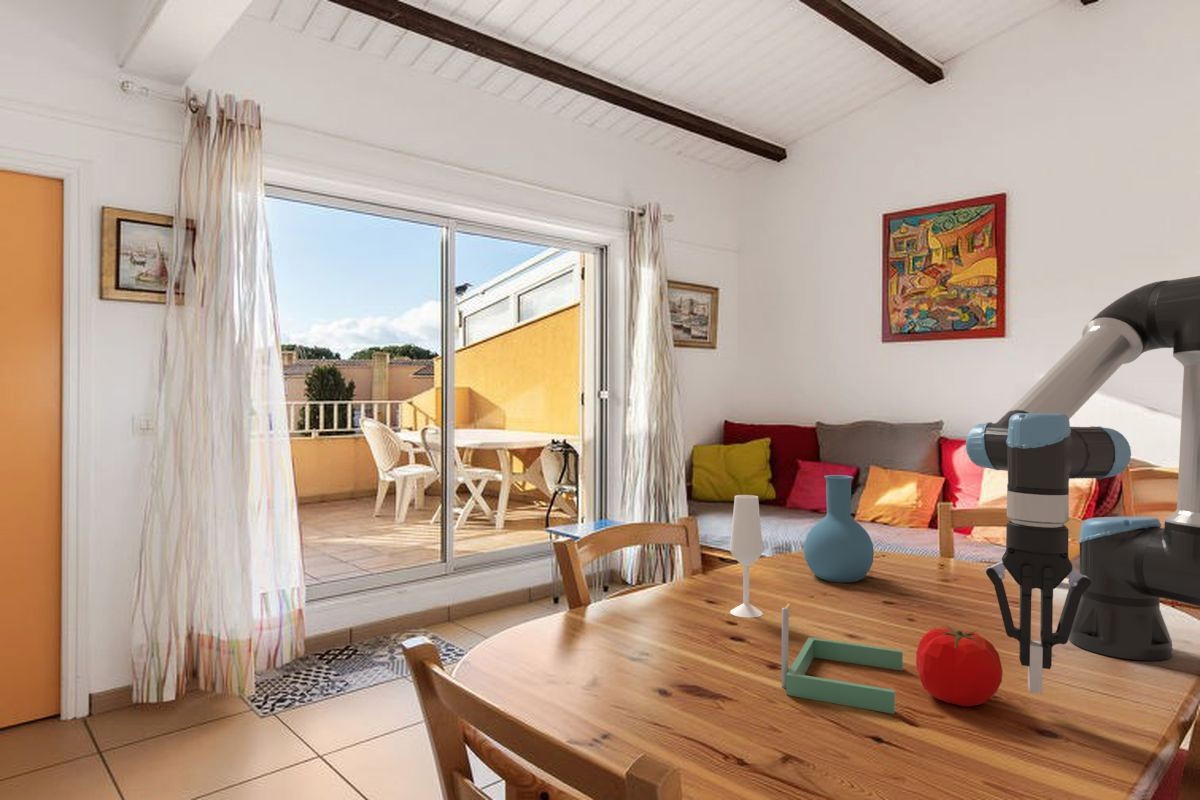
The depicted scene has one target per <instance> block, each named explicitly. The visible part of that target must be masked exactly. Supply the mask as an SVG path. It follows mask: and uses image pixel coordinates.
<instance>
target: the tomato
mask: <svg viewBox="0 0 1200 800" xmlns="http://www.w3.org/2000/svg"><path fill="white" fill-rule="evenodd" d="M946 627H947V628H946ZM946 627H944V628H942V627H941V628H940V627H939V628H935V627H933V628H931V629H930V630H928V631H927V632H926V633H924V634H923V635H922V637H921V639H920V640H919V643H918V646H917V649H916V657H915V665H916V668H917V672H918V677H919V679H920V683H921V684H922V686H923V688H924V690H925V691H926V692H928V693H929V694H930V695H931V696H933V697H934V698H936V699H937V700H940V701H942V702H945V703H948V704H953V705H957V706H962V707H967V708H968V707H973V706H977V705H979V706H980V705H983V704H985V703H987V702H989V700H990V699H991V698H992V697H993V696H994V695H995V694H996V693H997V691H998V689H999V688H1000V685H1001V684H1002V680H1003V667H1002V662H1001V658H1000V654H999V652H998V651H997V649H996V647H995V646H994V645H993V644H992V642H990V641H989V640H988V639H986V638H985V637H983V636H981V635H979V634H978V633H976V632H978V630H975V631H970V630H963V631H962V630H958V629H957V631H956V630H954V629H953V628H951V627H949V626H948V625H946Z"/></svg>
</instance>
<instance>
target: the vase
mask: <svg viewBox="0 0 1200 800" xmlns="http://www.w3.org/2000/svg"><path fill="white" fill-rule="evenodd" d="M824 479H825V480H826V485H825V487H826V489H825V491H826V495H825V496H826V498H825V499H826V515H825V516H824V517H823V518H822V519H821V520H819V521H817V523H815V524H814V525H813V526H812V527H811V529H810V530H809V532H808V533H807V535H806V538H805V541H804V543H803V544H804V545H803V554H804V560H805V562H806V565H807V566H808V568H809V570H810V571H811V573H813V574H814V575H815V576H816V577H817V578H818V579H821V580H824V581H827V582H833V583H841V584H842V583H844V584H845V583H846V584H847V583H849V584H850V583H856V582H859V581H861V580H862V579H863V578H865V577H867V574H868V573H869V572H870V570H871V568H872V565H873V562H874V554H875V553H874V544H873V542H872V539H871V536H870V534H869V533H868V532H867V530H866V529H865V527H863V526H862V525H861V524H860V523H858V521H856V520H855V519H854V517H852V513H851V508H852V507H851V506H852V499H851V498H852V480H853V479H854V476H850V475H845V474H844V475H843V474H842V475H841V474H839V475H838V474H837V475H836V474H831V475H830V474H829V475H828V474H827V475H824Z"/></svg>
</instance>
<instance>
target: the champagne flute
mask: <svg viewBox="0 0 1200 800" xmlns="http://www.w3.org/2000/svg"><path fill="white" fill-rule="evenodd" d="M733 500H734V501H733V502H734V503H733V512H732V523H731V532H730V534H731V535H730V543H729V551H730V553H731V555H732V557H733V558H734V559H735V560H736V561H737V563H739V564H740V565H741V566H743V567H742V570H743V573H742V574H743V582H742V583H743V588H742V589H743V591H742V592H743V595H742V596H743V597H742V598H743V601H742V602H743V603H741V604H740V605H738V606H736V607H733V608H732V609H731V610H729V613H730V614H731V615H733V616H735V617H740V618H750V619H751V618H752V619H753V618H758V617H762V616H763V614H764V613H763V611H761V610H760V609H758V608H757V607H755V606H754V605H752V604H751V603H750V566H752V565H753V564H755V563H756V562H757V560H759V558H760V557H761V556H762V554H763V552H764V548H763V547H764V546H763V536H762V524H761V515H760V503H759V502H760V501H759V496H758V495H753V494H737V495H734V499H733Z"/></svg>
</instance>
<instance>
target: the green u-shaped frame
mask: <svg viewBox="0 0 1200 800" xmlns="http://www.w3.org/2000/svg"><path fill="white" fill-rule="evenodd" d="M790 617H791V603H789V602H788V603H787V604H786V605H785V606H784V607H782V608H781V688H784V689H786V690H785V691H786V692H785V694H786V696H791V697H796V698H797V697H798V698H802V699H808V700H813V701H814V700H815V701H820V702H824V703H830V704H832V703H833V704H837V705H842V706H848V707H853V708H858V709H865V710H871V711H875V712H876V711H877V712H882V713H887V714H892V715H895V713H896V690H895V689H890V688H886V687H885V688H884V687H879V686H873V685H868V684H859V683H855V682H848V681H843V680H842V681H841V680H835V679H829V678H823V677H819V676H813V675H812V676H810V675H806V673H807V671H808V669H809V667H810V665H811V664H812V662H813V659H814V658H817V659H822V660H823V659H824V660H827V661H828V660H830V661H836V662H843V663H848V664H849V663H850V664H856V665H862V666H869V667H876V668H882V669H887V670H895V671H902V672H903V670H904V668H903V667H904V662H903V661H904V650H903V649H896V648H888V647H882V646H874V645H867V644H860V643H855V642H854V643H852V642H846V641H838V640H832V639H825V638H817V637H809V636H808V638H807V640H806V641H805V643H804V645H803V646H802V648H801V650H800V652H799V653H798V655H797V656H796V658H795V660H794V661H793V663H792V664H791V666H790V668H789V633H790V631H789V621H790V620H789V618H790Z"/></svg>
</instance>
